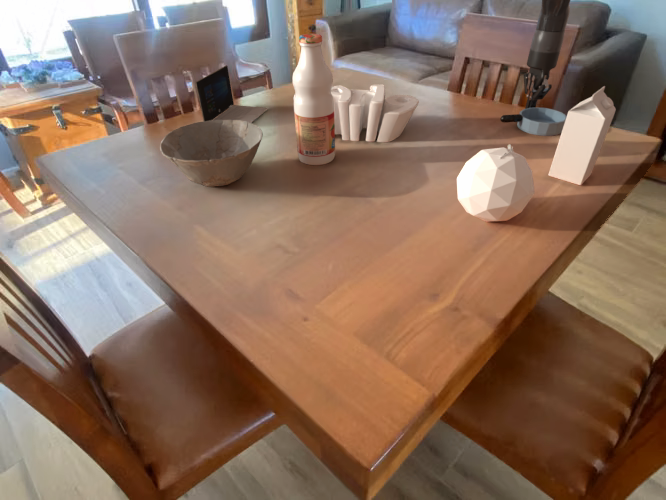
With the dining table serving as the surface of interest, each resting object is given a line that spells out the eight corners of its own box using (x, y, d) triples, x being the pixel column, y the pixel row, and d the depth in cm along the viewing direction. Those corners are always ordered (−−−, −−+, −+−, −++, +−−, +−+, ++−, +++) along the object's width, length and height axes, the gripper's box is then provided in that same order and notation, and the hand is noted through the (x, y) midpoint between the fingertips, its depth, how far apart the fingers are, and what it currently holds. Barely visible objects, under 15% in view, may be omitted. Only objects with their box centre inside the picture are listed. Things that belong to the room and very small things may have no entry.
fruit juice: (291, 155, 109) (280, 35, 92) (322, 146, 113) (318, 29, 95) (309, 169, 102) (301, 42, 85) (342, 159, 106) (341, 36, 89)
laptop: (243, 131, 122) (235, 85, 114) (204, 127, 125) (194, 82, 117) (268, 110, 135) (263, 67, 127) (233, 107, 139) (226, 64, 131)
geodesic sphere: (467, 159, 91) (468, 121, 78) (538, 171, 86) (552, 133, 73) (448, 222, 89) (445, 194, 76) (520, 239, 84) (531, 212, 70)
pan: (506, 138, 114) (510, 123, 112) (490, 121, 124) (493, 107, 121) (571, 134, 115) (576, 120, 112) (550, 118, 124) (554, 104, 122)
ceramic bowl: (257, 150, 112) (252, 113, 105) (276, 192, 94) (271, 150, 88) (169, 164, 106) (159, 126, 100) (172, 211, 89) (159, 167, 83)
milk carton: (547, 176, 97) (574, 91, 85) (559, 165, 101) (586, 82, 89) (580, 186, 93) (613, 98, 81) (591, 174, 97) (624, 89, 85)
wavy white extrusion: (285, 136, 118) (281, 98, 112) (302, 115, 131) (300, 79, 125) (412, 146, 111) (416, 105, 105) (417, 122, 124) (421, 85, 118)
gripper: (571, 53, 109) (552, 119, 120) (547, 41, 120) (531, 103, 130) (543, 54, 109) (526, 120, 119) (521, 43, 119) (507, 104, 130)
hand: (529, 111), depth 125 cm, fingers closed
